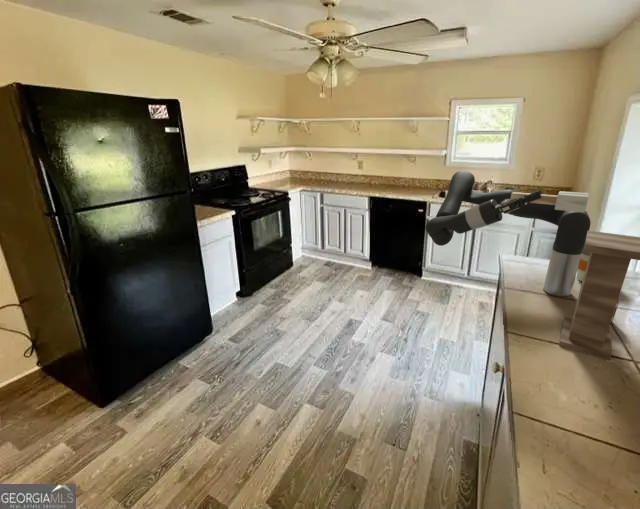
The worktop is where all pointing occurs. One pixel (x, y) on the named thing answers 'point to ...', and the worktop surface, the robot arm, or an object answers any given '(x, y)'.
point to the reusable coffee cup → (582, 265)
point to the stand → (599, 292)
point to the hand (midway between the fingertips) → (540, 193)
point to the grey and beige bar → (561, 200)
